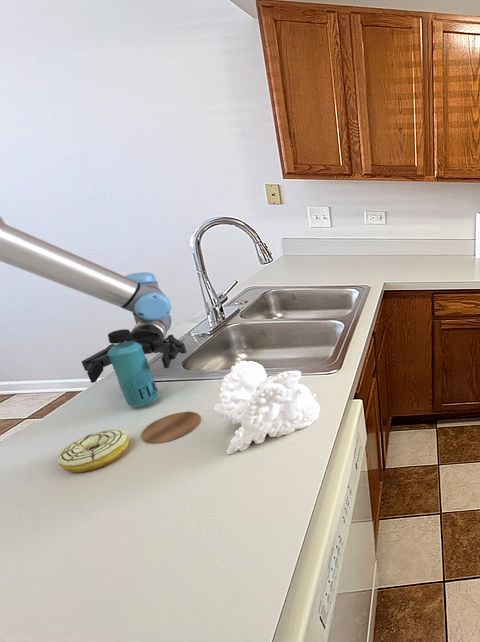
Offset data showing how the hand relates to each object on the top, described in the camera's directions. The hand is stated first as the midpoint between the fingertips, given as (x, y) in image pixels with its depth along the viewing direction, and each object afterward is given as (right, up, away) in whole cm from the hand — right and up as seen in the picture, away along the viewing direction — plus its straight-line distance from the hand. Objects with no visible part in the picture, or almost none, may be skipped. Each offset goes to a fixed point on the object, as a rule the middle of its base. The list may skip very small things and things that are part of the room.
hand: (129, 370), depth 93 cm
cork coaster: (+12, -13, -3) cm, 18 cm away
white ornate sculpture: (+35, -13, -3) cm, 38 cm away
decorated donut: (+4, -16, -12) cm, 20 cm away
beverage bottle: (-1, -10, +6) cm, 11 cm away
